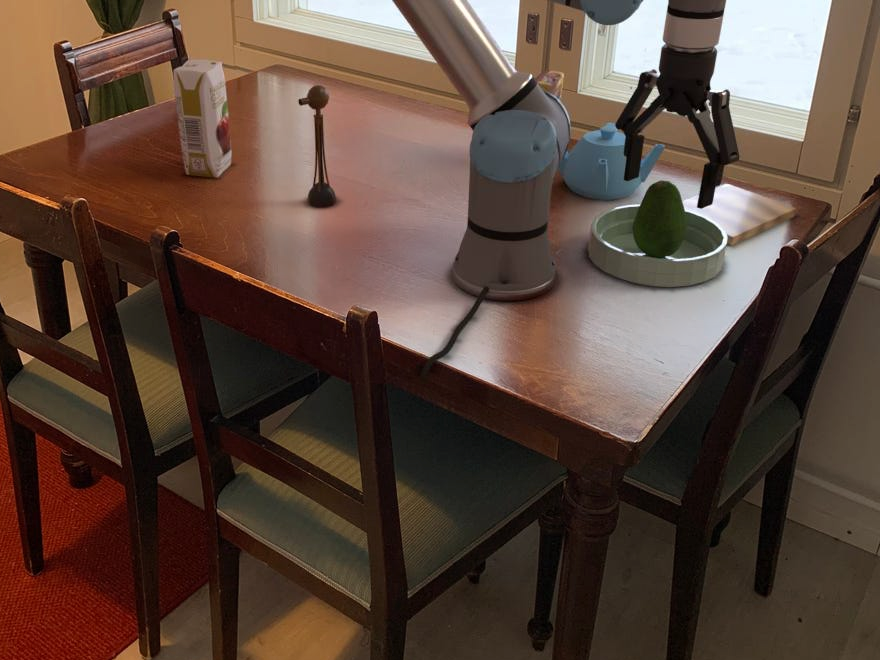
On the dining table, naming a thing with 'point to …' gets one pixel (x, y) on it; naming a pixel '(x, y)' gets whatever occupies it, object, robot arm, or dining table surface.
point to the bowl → (628, 262)
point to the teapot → (603, 165)
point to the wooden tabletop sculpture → (319, 150)
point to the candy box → (551, 82)
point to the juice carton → (203, 117)
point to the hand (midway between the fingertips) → (666, 192)
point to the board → (741, 212)
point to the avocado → (660, 220)
